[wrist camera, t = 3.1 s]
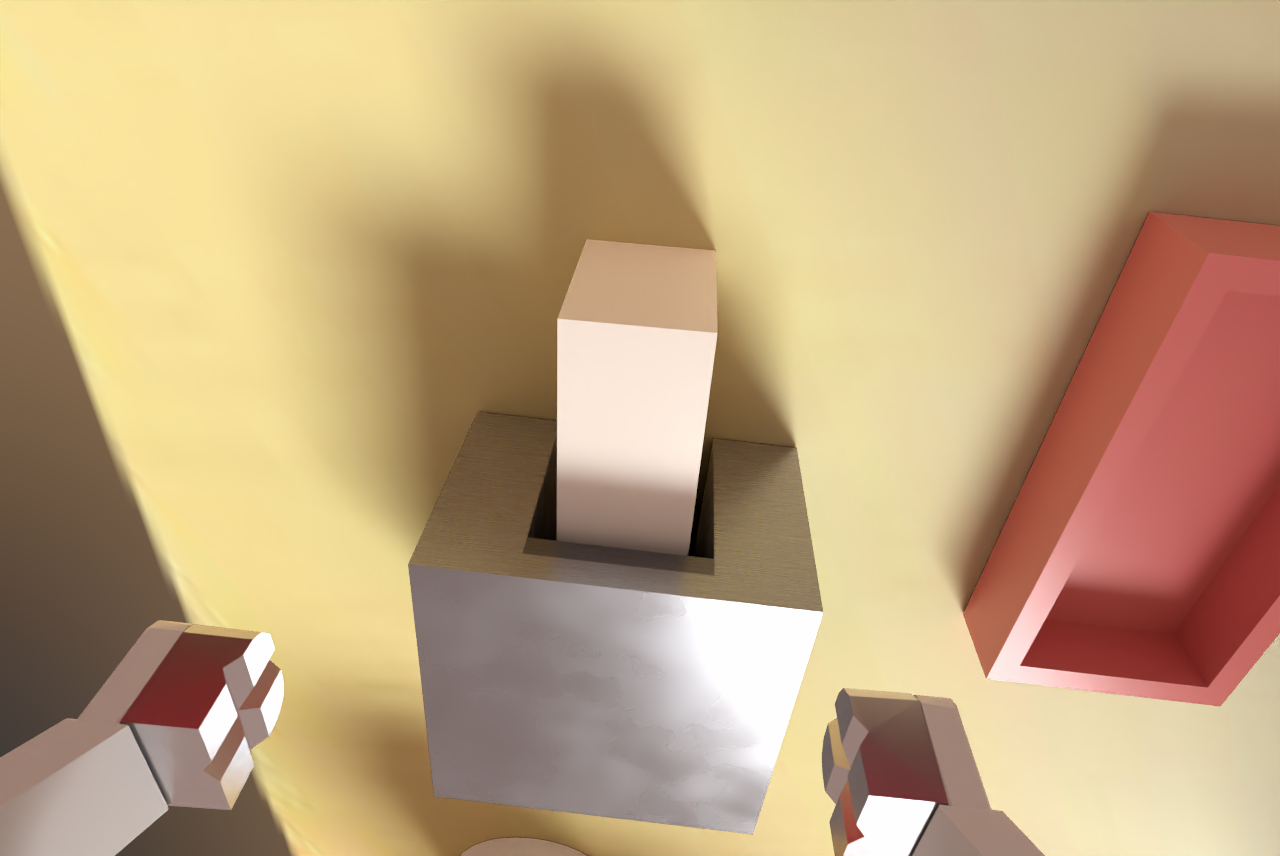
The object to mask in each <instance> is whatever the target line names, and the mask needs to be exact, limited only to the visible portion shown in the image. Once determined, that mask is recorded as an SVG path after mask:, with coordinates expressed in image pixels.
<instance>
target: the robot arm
mask: <svg viewBox="0 0 1280 856" xmlns="http://www.w3.org/2000/svg"><path fill="white" fill-rule="evenodd" d="M274 650H275V648H274V645H273V642H272V639H271V636H270V633H262V632H254V631H246V630H238V629H230V628H222V627H214V626H206V625H198V624H189V623H180V622H170V621H160V620H159V621H157V622H156V623H154V624H153V625H151V626H150V627H148V628H147V629H146V630H145V631H144V633H143V634H142V635H141V636H140V638H139V639H138V640H137V642H136V643H135V644H134V646H133V647H132V648H131V649H130V651H129V652H128V653H127V655H126V656H125V658H124V659H123V660H122V661H121V663H120V664H119V665H118V667H117V668H116V669H115V670H114V672H113V673H112V674H111V676H110V677H109V678H108V680H107V681H106V682H105V684H104V685H103V686H102V688H101V689H100V690H99V691H98V693H97V694H96V695H95V697H94V698H93V699H92V701H91V702H90V703H89V705H88V706H87V707H86V709H85V710H84V711H83V712H82V714H81V715H80V716H79V718H78V719H65V720H63V721H62V722H60V723H58V724H56V725H55V726H53V727H51V728H50V729H48V730H46V731H45V732H43V733H41V734H39V735H38V736H36V737H35V738H33V739H31V740H30V741H28V742H26V743H24V744H23V745H21V746H19V747H18V748H16V749H14V750H13V751H11V752H9V753H8V754H6V755H4V756H3V757H1V758H0V856H115V855H116V854H117V853H118V852H119V851H120V850H122V849H123V848H124V847H125V846H126V845H127V844H129V843H130V842H131V841H132V840H133V839H134V838H136V837H137V836H138V835H139V834H140V833H141V832H143V831H144V830H145V829H146V828H147V827H148V826H150V825H151V824H152V823H153V822H154V821H155V820H157V819H158V818H159V817H160V816H161V815H163V814H164V813H165V812H166V811H167V810H168V806H183V807H196V808H210V809H224V810H225V809H226V810H231V809H232V807H233V805H234V803H235V801H236V799H237V797H238V795H239V793H240V791H241V790H242V788H243V786H244V784H245V782H246V780H247V778H248V776H249V774H250V772H251V770H252V768H253V766H254V762H253V757H252V753H251V749H252V748H253V747H254V746H256V745H257V744H259V743H260V742H261V741H263V740H264V739H265V738H267V737H268V736H269V735H270V733H271V731H272V729H273V727H274V725H275V723H276V721H277V719H278V716H279V712H280V709H281V705H282V701H283V697H284V680H283V676H282V672H281V669H279V668H278V667H277V666H276V665H275V664H274V663H272V662H271V661H270V660H269V659H270V657H271V655H272V653H273V652H274ZM835 707H836V713H837V718H836V719H835V720H833V721H831V722H830V723H828V726H827V729H826V732H825V736H824V741H823V751H822V770H823V779H824V787H825V791H826V793H827V794H828V795H829V796H830V798H831V799H832V800H833V801H834V803H835V804H836V806H835V809H834V812H833V814H832V817H831V820H830V828H831V834H832V841H833V847H834V854H835V856H1045V855H1044V854H1043V853H1042V852H1041V851H1040V850H1039V849H1038V848H1037V847H1036V846H1035V845H1034V844H1033V843H1032V842H1031V841H1030V840H1029V839H1028V838H1027V836H1026V835H1025V834H1024V833H1023V832H1022V831H1021V830H1020V829H1019V828H1018V827H1017V826H1016V825H1015V824H1014V823H1013V822H1012V821H1011V820H1010V819H1009V818H1008V817H1007V816H1006V814H1005V813H1004V812H1003V811H997V810H991V807H990V804H989V801H988V798H987V795H986V792H985V789H984V786H983V783H982V780H981V777H980V774H979V771H978V768H977V765H976V762H975V759H974V756H973V753H972V750H971V747H970V744H969V741H968V738H967V735H966V732H965V730H964V727H963V724H962V721H961V718H960V715H959V712H958V709H957V706H956V704H955V703H954V702H953V701H952V700H951V699H950V698H943V697H931V696H920V695H912V694H909V693H897V692H885V691H873V690H861V689H849V688H843V689H842V690H841V691H840V692H839V694H838V697H837V700H836V702H835ZM167 805H168V806H167Z"/></svg>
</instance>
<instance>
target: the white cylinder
mask: <svg viewBox="0 0 1280 856" xmlns="http://www.w3.org/2000/svg"><path fill="white" fill-rule="evenodd" d="M461 856H587V855H585V854H583V853H581V852H579V851H577V850H575V849H573V848H570V847H567V846H565V845H561V844H558V843H555V842H550V841H546V840H540V839H533V838H517V837H514V838H500V839H493V840H488V841H485V842H481V843H479V844H476V845H474V846H472V847H470V848H469V849H467V850H466V851H465V852H463V853H462V855H461Z"/></svg>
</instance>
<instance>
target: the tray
mask: <svg viewBox="0 0 1280 856" xmlns="http://www.w3.org/2000/svg"><path fill="white" fill-rule="evenodd" d="M963 615H964V618H965V621H966V624H967V627H968V629H969V632H970V635H971V638H972V641H973V643H974V646H975V649H976V652H977V654H978V657H979V660H980V663H981V666H982V668H983V671H984V674H985V677H986V679H991V680H1000V681H1008V682H1017V683H1025V684H1034V685H1043V686H1051V687H1060V688H1068V689H1077V690H1085V691H1094V692H1103V693H1111V694H1120V695H1128V696H1137V697H1146V698H1154V699H1163V700H1171V701H1180V702H1188V703H1197V704H1206V705H1214V706H1221V705H1222V704H1223V702H1224V701H1225V700H1226V699H1227V697H1228V696H1229V695H1230V694H1231V693H1232V691H1233V690H1234V689H1235V688H1236V686H1237V685H1238V684H1239V683H1240V681H1241V680H1242V679H1243V678H1244V677H1245V675H1246V674H1247V673H1248V672H1249V670H1250V669H1251V668H1252V667H1253V665H1254V664H1255V663H1256V662H1257V660H1258V659H1259V658H1260V657H1261V656H1262V654H1263V653H1264V652H1265V651H1266V649H1267V648H1268V647H1269V646H1270V644H1271V643H1272V642H1273V641H1274V640H1275V638H1276V637H1277V636H1278V635H1279V633H1280V226H1277V225H1268V224H1259V223H1250V222H1240V221H1231V220H1222V219H1213V218H1204V217H1194V216H1185V215H1176V214H1167V213H1158V212H1149V214H1148V216H1147V218H1146V220H1145V222H1144V225H1143V227H1142V229H1141V231H1140V233H1139V235H1138V238H1137V240H1136V242H1135V244H1134V246H1133V248H1132V250H1131V253H1130V255H1129V257H1128V259H1127V261H1126V263H1125V266H1124V268H1123V270H1122V272H1121V274H1120V276H1119V279H1118V281H1117V283H1116V285H1115V287H1114V289H1113V291H1112V294H1111V296H1110V298H1109V300H1108V302H1107V304H1106V307H1105V309H1104V311H1103V313H1102V315H1101V317H1100V320H1099V322H1098V324H1097V326H1096V328H1095V330H1094V332H1093V335H1092V337H1091V339H1090V341H1089V343H1088V345H1087V348H1086V350H1085V352H1084V354H1083V356H1082V358H1081V361H1080V363H1079V365H1078V367H1077V369H1076V371H1075V373H1074V376H1073V378H1072V380H1071V382H1070V384H1069V386H1068V389H1067V391H1066V393H1065V395H1064V397H1063V399H1062V402H1061V404H1060V406H1059V408H1058V410H1057V412H1056V414H1055V417H1054V419H1053V421H1052V423H1051V425H1050V427H1049V430H1048V432H1047V434H1046V436H1045V438H1044V440H1043V443H1042V445H1041V447H1040V449H1039V451H1038V453H1037V455H1036V458H1035V460H1034V462H1033V464H1032V466H1031V468H1030V471H1029V473H1028V475H1027V477H1026V479H1025V481H1024V484H1023V486H1022V488H1021V490H1020V492H1019V494H1018V496H1017V499H1016V501H1015V503H1014V505H1013V507H1012V509H1011V512H1010V514H1009V516H1008V518H1007V520H1006V522H1005V525H1004V527H1003V529H1002V531H1001V533H1000V535H999V537H998V540H997V542H996V544H995V546H994V548H993V550H992V553H991V555H990V557H989V559H988V561H987V563H986V566H985V568H984V570H983V572H982V574H981V576H980V578H979V581H978V583H977V585H976V587H975V589H974V591H973V594H972V596H971V598H970V600H969V602H968V604H967V607H966V609H965V611H964V613H963Z"/></svg>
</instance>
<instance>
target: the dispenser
mask: <svg viewBox="0 0 1280 856" xmlns="http://www.w3.org/2000/svg"><path fill="white" fill-rule="evenodd" d="M556 533H557V421H556V420H547V419H538V418H529V417H520V416H512V415H503V414H494V413H485V412H477V415H476V417H475V419H474V421H473V423H472V426H471V428H470V430H469V432H468V434H467V437H466V439H465V441H464V443H463V445H462V448H461V450H460V452H459V454H458V456H457V459H456V461H455V463H454V465H453V467H452V469H451V472H450V474H449V476H448V478H447V480H446V483H445V485H444V487H443V489H442V491H441V494H440V496H439V498H438V500H437V502H436V505H435V507H434V509H433V511H432V513H431V516H430V518H429V520H428V522H427V524H426V526H425V529H424V531H423V533H422V535H421V537H420V540H419V542H418V544H417V546H416V548H415V551H414V553H413V555H412V557H411V559H410V562H409V564H408V566H409V575H410V584H411V593H412V602H413V611H414V620H415V629H416V638H417V647H418V656H419V665H420V674H421V683H422V692H423V701H424V710H425V719H426V728H427V737H428V745H429V754H430V763H431V772H432V781H433V790H434V796H435V797H444V798H452V799H460V800H469V801H477V802H486V803H494V804H502V805H511V806H519V807H527V808H536V809H544V810H552V811H561V812H569V813H578V814H586V815H594V816H603V817H611V818H619V819H628V820H636V821H645V822H653V823H661V824H670V825H678V826H686V827H695V828H703V829H712V830H720V831H728V832H737V833H745V834H753V832H754V829H755V826H756V823H757V820H758V817H759V813H760V810H761V807H762V804H763V801H764V798H765V794H766V791H767V788H768V785H769V782H770V779H771V775H772V772H773V769H774V766H775V763H776V760H777V757H778V753H779V750H780V747H781V744H782V741H783V738H784V734H785V731H786V728H787V725H788V722H789V719H790V715H791V712H792V709H793V706H794V703H795V700H796V696H797V693H798V690H799V687H800V684H801V681H802V677H803V674H804V671H805V668H806V665H807V662H808V659H809V655H810V652H811V649H812V646H813V643H814V640H815V636H816V633H817V630H818V627H819V624H820V621H821V617H822V614H823V608H822V602H821V596H820V590H819V584H818V578H817V571H816V565H815V559H814V553H813V547H812V540H811V534H810V528H809V522H808V516H807V510H806V503H805V497H804V491H803V485H802V479H801V473H800V466H799V460H798V454H797V448H794V447H785V446H777V445H768V444H759V443H750V442H741V441H732V440H724V439H715V438H713V443H712V449H711V455H710V461H709V467H708V473H707V478H706V484H705V490H704V496H703V502H702V508H701V514H700V519H699V525H698V531H697V537H696V543H695V549H694V555H693V556H684V555H675V554H667V553H658V552H649V551H641V550H632V549H623V548H615V547H606V546H597V545H588V544H580V543H571V542H562V541H556Z"/></svg>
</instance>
